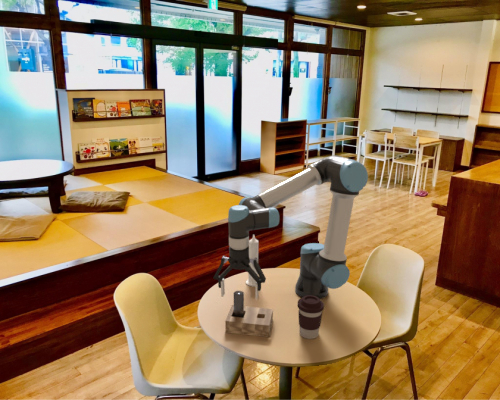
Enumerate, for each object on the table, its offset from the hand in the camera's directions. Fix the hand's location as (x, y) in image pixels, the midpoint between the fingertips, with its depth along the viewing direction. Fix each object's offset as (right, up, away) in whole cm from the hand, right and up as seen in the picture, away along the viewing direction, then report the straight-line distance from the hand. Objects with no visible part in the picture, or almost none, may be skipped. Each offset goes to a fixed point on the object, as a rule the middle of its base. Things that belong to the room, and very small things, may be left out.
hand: (239, 296), depth 165 cm
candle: (+5, -2, +38) cm, 38 cm away
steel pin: (-1, -11, +3) cm, 12 cm away
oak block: (+4, -12, +3) cm, 13 cm away
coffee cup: (+27, -14, -2) cm, 30 cm away
